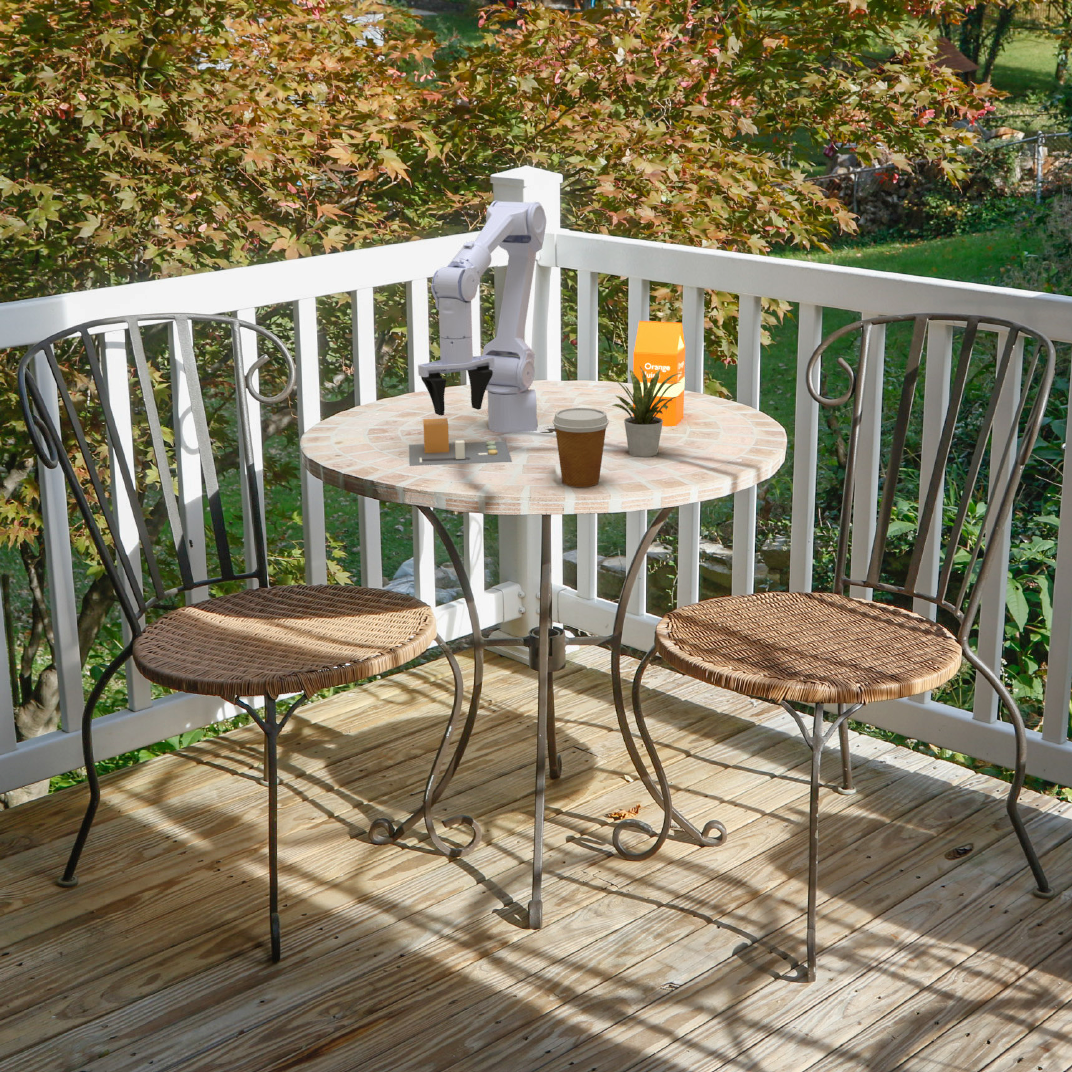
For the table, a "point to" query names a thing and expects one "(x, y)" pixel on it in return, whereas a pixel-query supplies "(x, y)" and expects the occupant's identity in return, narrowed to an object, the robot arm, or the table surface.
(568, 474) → the disposable coffee cup
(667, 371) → the orange juice
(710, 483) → the table surface
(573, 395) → the table surface
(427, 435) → the cap
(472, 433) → the table surface
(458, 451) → the switch
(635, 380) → the house plant
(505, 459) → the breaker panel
